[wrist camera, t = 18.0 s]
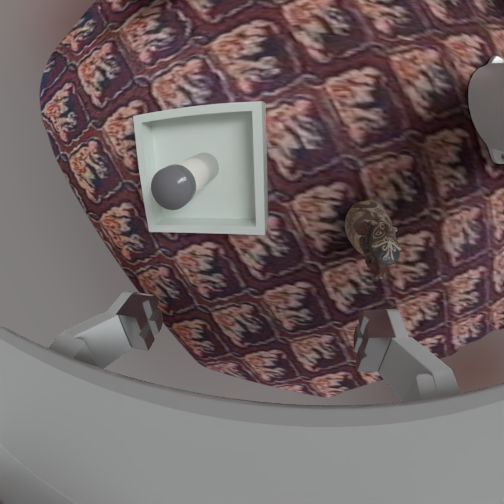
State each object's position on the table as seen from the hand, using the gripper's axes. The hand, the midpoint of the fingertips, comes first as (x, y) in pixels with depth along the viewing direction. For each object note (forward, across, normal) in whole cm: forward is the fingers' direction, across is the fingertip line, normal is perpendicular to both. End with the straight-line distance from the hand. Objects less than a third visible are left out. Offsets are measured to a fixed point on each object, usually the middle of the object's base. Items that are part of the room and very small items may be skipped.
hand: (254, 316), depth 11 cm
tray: (+31, -12, 0) cm, 33 cm away
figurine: (+31, +12, -8) cm, 34 cm away
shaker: (+30, -12, 0) cm, 32 cm away
